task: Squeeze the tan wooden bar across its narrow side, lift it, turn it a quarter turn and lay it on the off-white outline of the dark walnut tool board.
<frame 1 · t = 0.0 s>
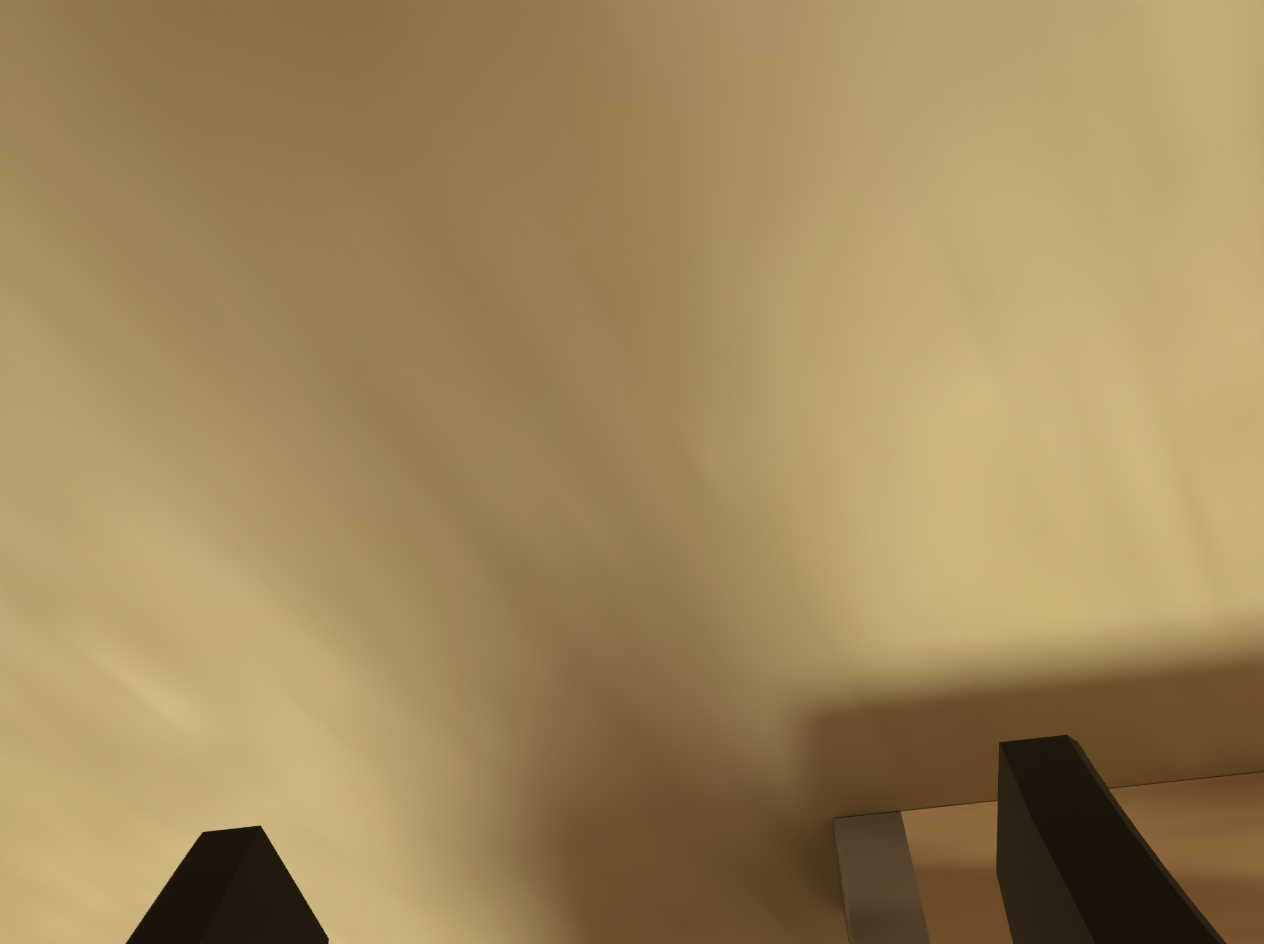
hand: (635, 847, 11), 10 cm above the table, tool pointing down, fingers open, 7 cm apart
tan wooden bar: (1153, 834, 28), on the table
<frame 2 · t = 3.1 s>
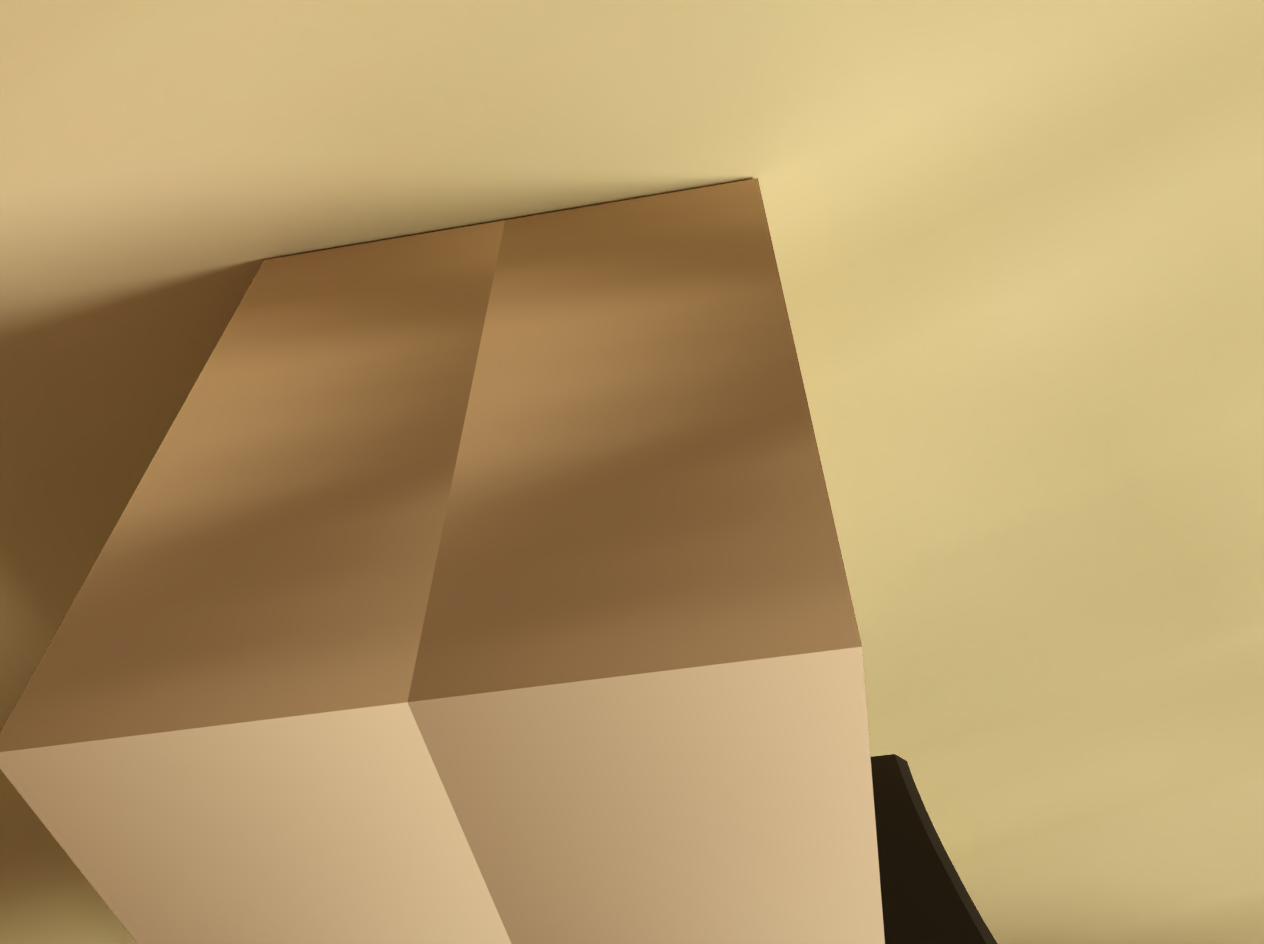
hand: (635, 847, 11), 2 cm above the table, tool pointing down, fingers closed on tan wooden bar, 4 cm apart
tan wooden bar: (635, 720, 13), on the table, touching gripper
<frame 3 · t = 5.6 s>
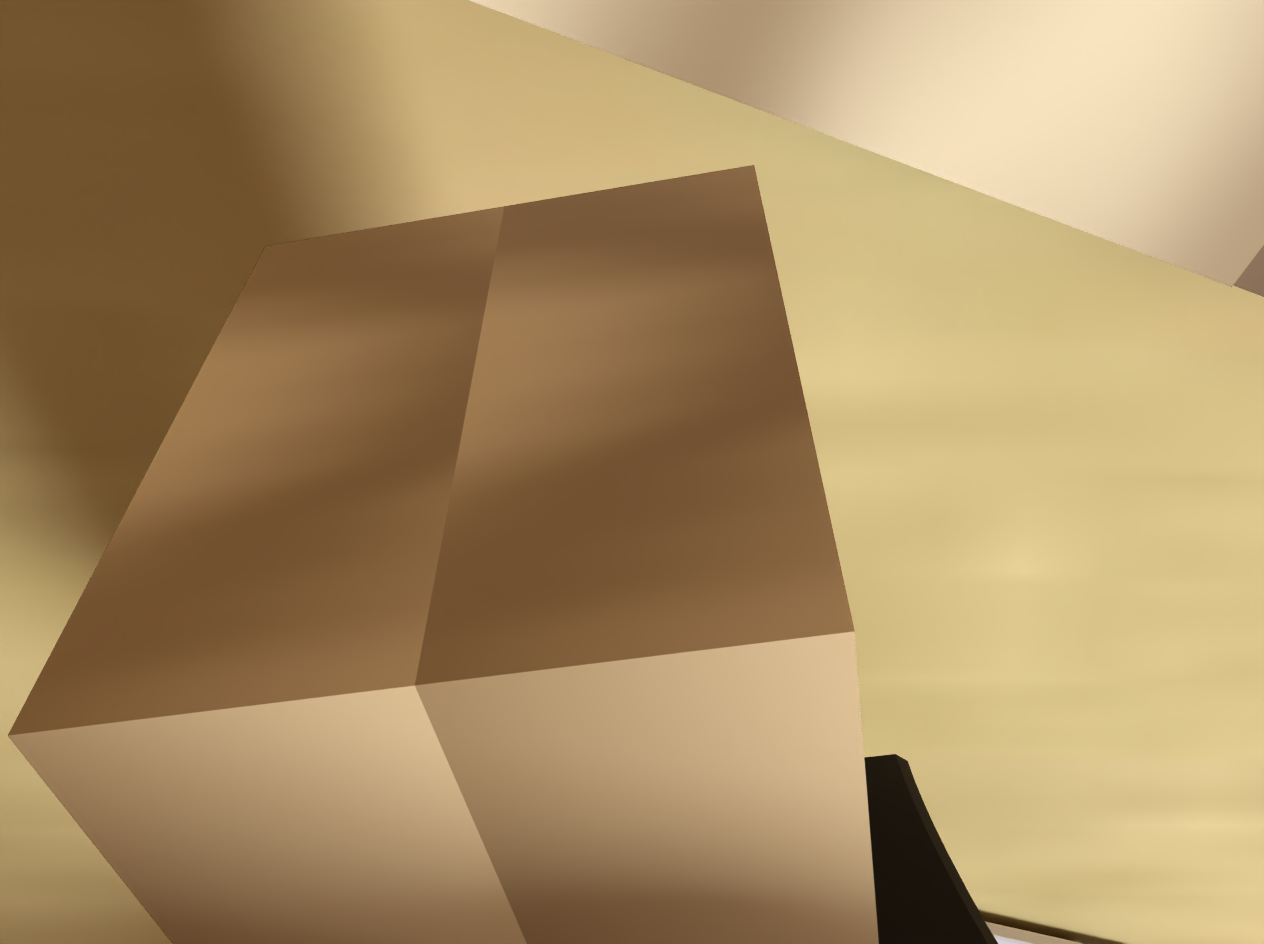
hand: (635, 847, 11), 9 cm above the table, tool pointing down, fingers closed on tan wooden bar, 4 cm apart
tan wooden bar: (632, 697, 13), point 7 cm above the table, touching gripper
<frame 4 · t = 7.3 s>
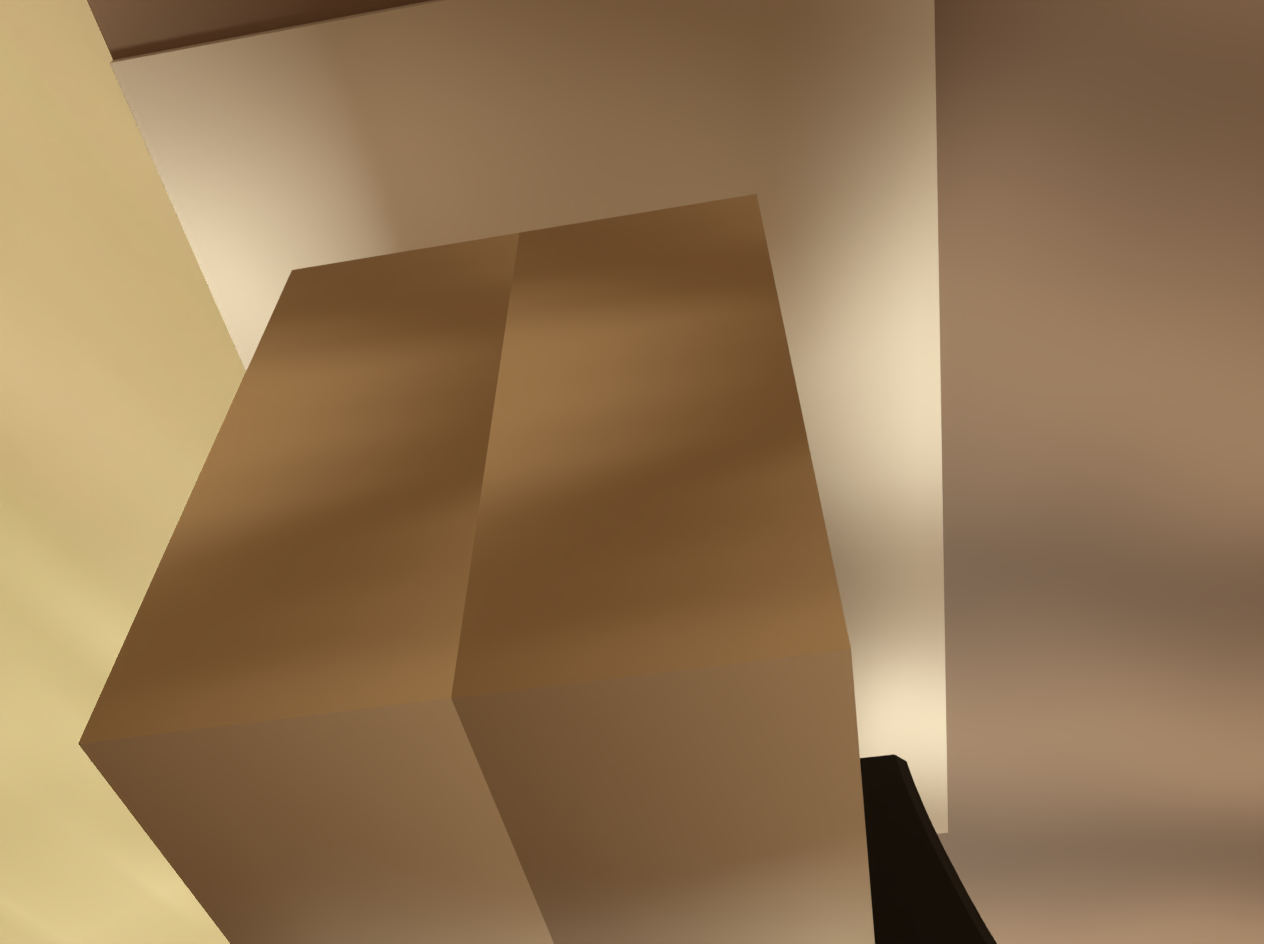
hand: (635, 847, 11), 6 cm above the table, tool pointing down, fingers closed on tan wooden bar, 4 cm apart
tan wooden bar: (639, 693, 13), point 3 cm above the table, touching gripper
board: (927, 560, 17), on the table
when the fingers open (4 cm above the table, at t = 8.5 s): tan wooden bar stays where it is, resting on board.
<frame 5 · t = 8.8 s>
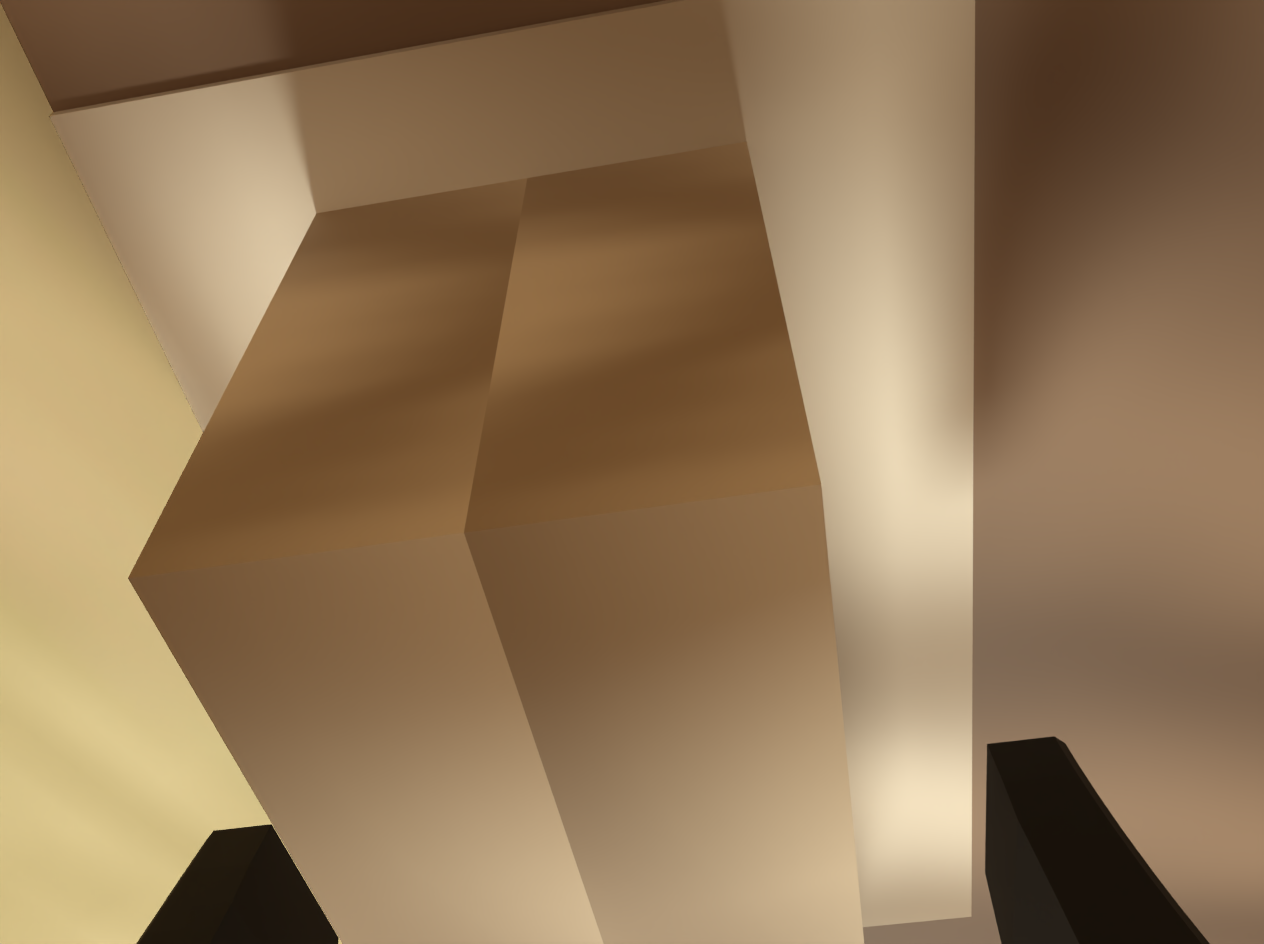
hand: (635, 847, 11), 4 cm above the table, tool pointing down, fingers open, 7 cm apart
tan wooden bar: (637, 641, 14), point 1 cm above the table, touching board
board: (952, 634, 15), on the table
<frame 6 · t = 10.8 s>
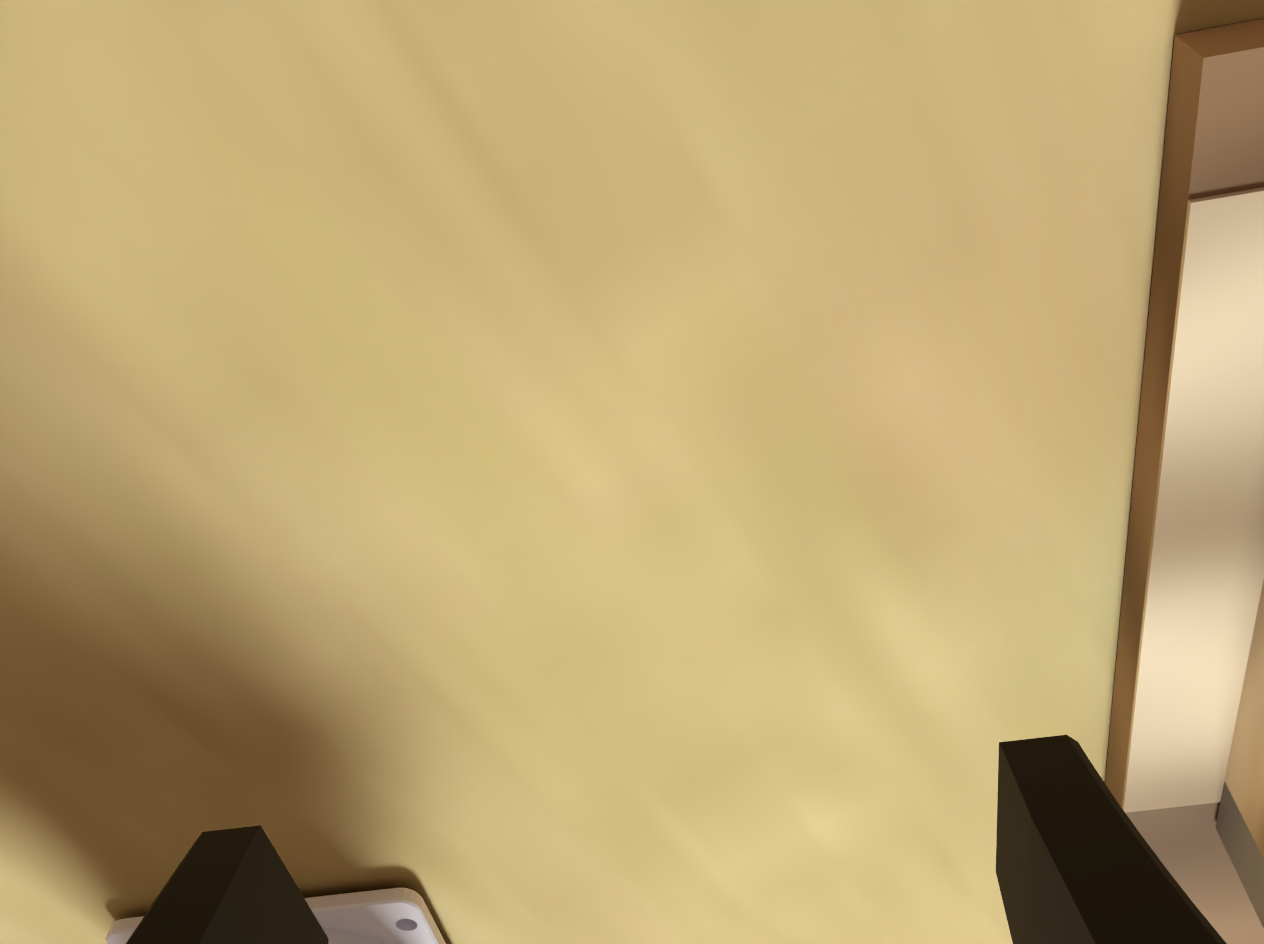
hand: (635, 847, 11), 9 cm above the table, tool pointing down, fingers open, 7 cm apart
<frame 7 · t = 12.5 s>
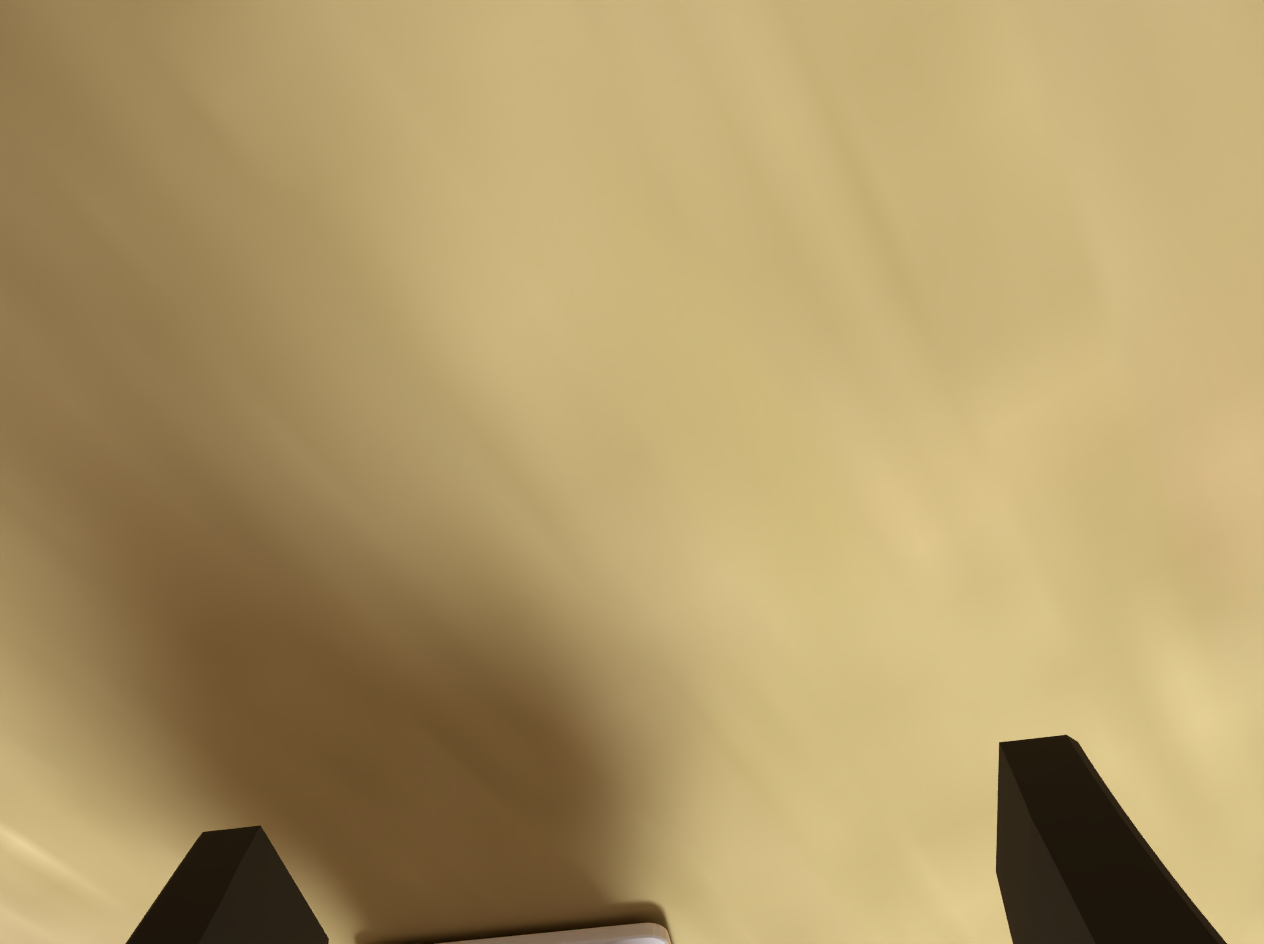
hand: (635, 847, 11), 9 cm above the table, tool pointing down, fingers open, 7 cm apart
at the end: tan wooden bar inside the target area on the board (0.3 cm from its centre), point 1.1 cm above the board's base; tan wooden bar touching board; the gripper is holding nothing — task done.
